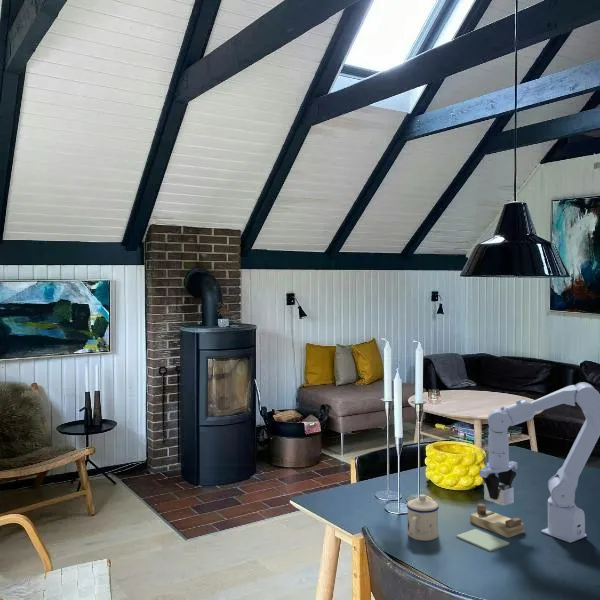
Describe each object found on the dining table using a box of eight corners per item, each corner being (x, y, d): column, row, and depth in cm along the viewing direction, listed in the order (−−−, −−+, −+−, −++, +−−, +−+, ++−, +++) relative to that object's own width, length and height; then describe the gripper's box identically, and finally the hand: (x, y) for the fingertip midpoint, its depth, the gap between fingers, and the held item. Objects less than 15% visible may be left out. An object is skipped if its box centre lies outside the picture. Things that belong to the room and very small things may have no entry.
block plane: (524, 531, 181) (523, 515, 181) (508, 537, 177) (508, 520, 177) (485, 517, 193) (485, 501, 193) (470, 522, 189) (470, 506, 189)
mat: (509, 544, 173) (509, 542, 173) (490, 551, 169) (490, 549, 169) (475, 530, 183) (475, 528, 183) (456, 537, 179) (456, 535, 179)
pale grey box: (513, 502, 182) (513, 484, 182) (503, 505, 180) (503, 487, 180) (494, 496, 188) (494, 479, 188) (484, 499, 186) (484, 481, 186)
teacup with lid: (414, 526, 187) (413, 488, 186) (443, 532, 182) (443, 493, 181) (397, 541, 177) (397, 500, 176) (428, 548, 172) (427, 506, 171)
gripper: (503, 444, 191) (504, 488, 191) (471, 452, 183) (471, 498, 183) (523, 449, 185) (523, 494, 185) (490, 457, 177) (491, 505, 177)
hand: (499, 496), depth 184 cm, fingers closed on pale grey box, 4 cm apart
